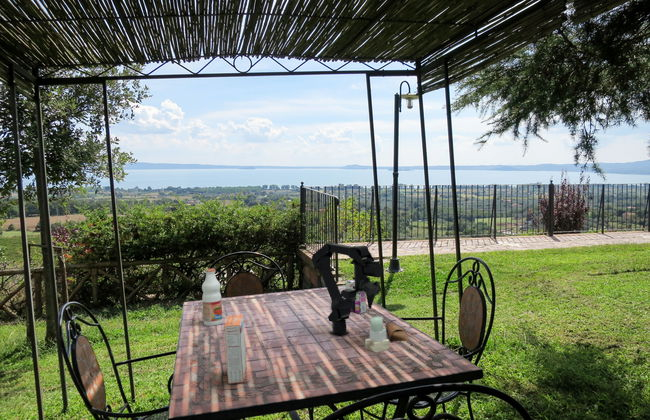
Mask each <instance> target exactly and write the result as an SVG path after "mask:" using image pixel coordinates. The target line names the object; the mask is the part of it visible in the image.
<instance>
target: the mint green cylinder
mask: <svg viewBox="0 0 650 420" xmlns="http://www.w3.org/2000/svg"><path fill="white" fill-rule="evenodd" d="M383 322H384V321H383V317H382V316H379V315H376V316H375V315H374V316H371V317H370V330H371V331H374V332H379V331H382V330H383V329H384V327H383V325H384V324H383Z"/></svg>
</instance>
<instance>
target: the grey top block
mask: <svg viewBox="0 0 650 420" xmlns="http://www.w3.org/2000/svg"><path fill="white" fill-rule="evenodd" d="M369 338H370V341H376V342H382V341H384V340H385V339H387V329H386V328H383V330H382V331H379V332H374V331H371V329H370V330H369Z"/></svg>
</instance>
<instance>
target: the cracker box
mask: <svg viewBox="0 0 650 420" xmlns="http://www.w3.org/2000/svg"><path fill="white" fill-rule="evenodd" d="M223 328H224V340H225V341H224V342H225V355H226V356H225V357H226V372H227V373H226V374H227V383H228V385H230V384H240V383H241V384H242V383H245V378H246V374H247V368H248V367H247V366H248V365H247V350H246V338H245V337H246V335H245V318H244V314H230V315H228V316H227V319H226V322H225V325H224V327H223Z"/></svg>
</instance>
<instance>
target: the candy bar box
mask: <svg viewBox="0 0 650 420" xmlns="http://www.w3.org/2000/svg"><path fill="white" fill-rule="evenodd" d="M344 283H345V284H344V286H345V289H351V290H355V289H353V286H355V281H354V280H353V279H349V280H345V282H344ZM358 292H359V291H358ZM355 298H357V299H356V300H355V313H354V314H358V315H362V314H366V313H367V296H366V292H364V293H359V294H356V297H355ZM351 313H353V312H352V310H351Z"/></svg>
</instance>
